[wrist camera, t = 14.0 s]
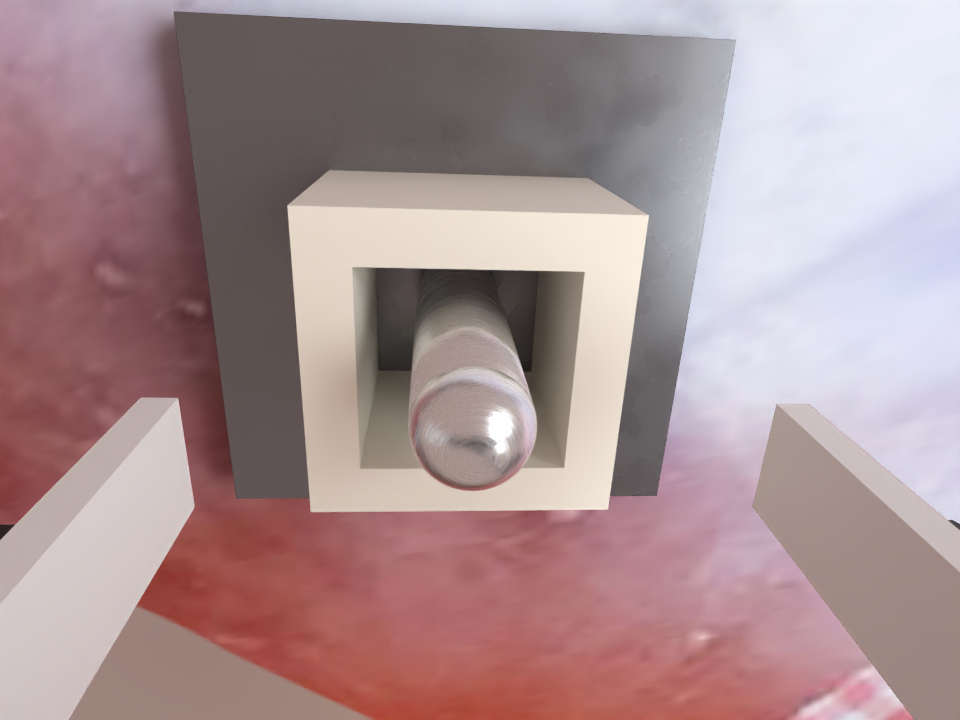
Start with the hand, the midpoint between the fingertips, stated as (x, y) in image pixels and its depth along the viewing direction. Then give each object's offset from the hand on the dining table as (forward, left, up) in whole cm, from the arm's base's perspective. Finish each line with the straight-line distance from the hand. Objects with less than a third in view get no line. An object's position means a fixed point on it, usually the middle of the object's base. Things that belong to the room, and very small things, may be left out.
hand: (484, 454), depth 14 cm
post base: (0, 0, -12) cm, 12 cm away
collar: (0, 0, -11) cm, 11 cm away
